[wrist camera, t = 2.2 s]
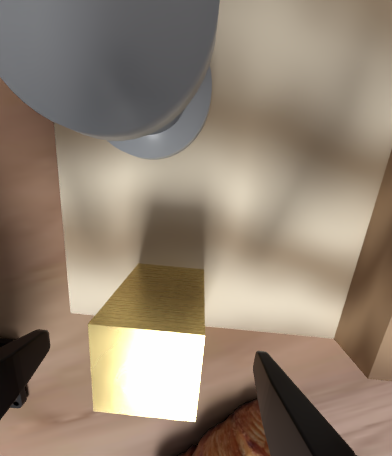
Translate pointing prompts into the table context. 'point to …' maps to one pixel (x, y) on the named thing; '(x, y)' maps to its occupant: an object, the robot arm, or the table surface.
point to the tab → (150, 344)
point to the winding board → (260, 183)
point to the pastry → (234, 435)
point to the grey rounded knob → (114, 67)
